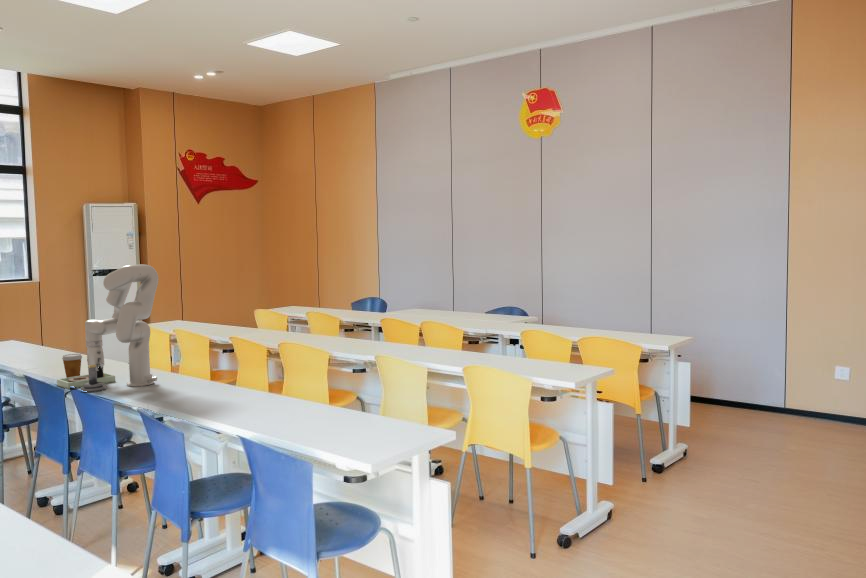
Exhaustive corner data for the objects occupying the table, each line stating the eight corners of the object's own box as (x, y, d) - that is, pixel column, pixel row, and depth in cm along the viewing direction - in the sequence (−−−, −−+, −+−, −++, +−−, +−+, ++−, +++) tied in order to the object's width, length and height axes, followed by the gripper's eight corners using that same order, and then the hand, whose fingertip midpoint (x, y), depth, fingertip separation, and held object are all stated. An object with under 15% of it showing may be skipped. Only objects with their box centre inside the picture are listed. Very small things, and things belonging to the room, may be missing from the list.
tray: (103, 378, 363) (103, 372, 362) (115, 381, 353) (115, 375, 353) (57, 385, 346) (56, 379, 346) (68, 389, 336) (68, 383, 336)
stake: (110, 389, 334) (108, 364, 333) (86, 393, 326) (84, 368, 325) (100, 386, 342) (99, 362, 341) (77, 390, 334) (75, 365, 333)
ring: (73, 386, 340) (73, 380, 340) (65, 383, 347) (65, 377, 346) (107, 380, 352) (107, 375, 352) (99, 378, 359) (99, 372, 359)
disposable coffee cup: (87, 375, 370) (85, 353, 369) (76, 379, 360) (74, 356, 359) (70, 375, 371) (69, 353, 370) (59, 379, 361) (57, 356, 360)
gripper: (109, 344, 349) (110, 378, 350) (94, 341, 360) (96, 373, 361) (93, 346, 343) (95, 380, 344) (79, 343, 355) (81, 376, 356)
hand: (96, 377), depth 353 cm, fingers open, 9 cm apart
